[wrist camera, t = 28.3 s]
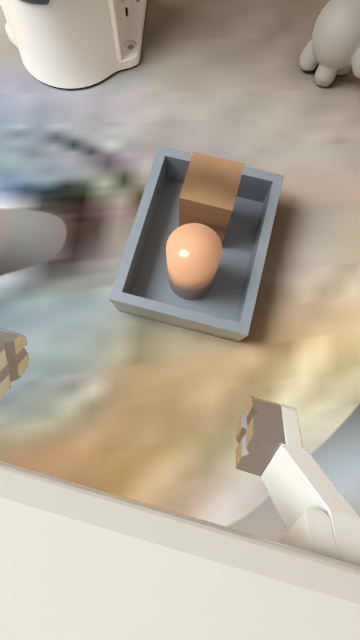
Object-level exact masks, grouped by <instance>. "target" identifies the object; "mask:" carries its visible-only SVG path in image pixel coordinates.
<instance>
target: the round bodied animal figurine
mask: <svg viewBox="0 0 360 640" xmlns="http://www.w3.org/2000/svg"><path fill="white" fill-rule="evenodd" d="M318 63H319V66H318V68H317V70H316V72H315V76H314V80H315V83H316V84H317V85H319V86H322V87H326V86H329V85H330V84H331V83H332V82H333V80H334V78H335V76H336V75H345V74H347V73H348V72H349V71H350V69H351V67H352V71H353V74H354V75H355V76H356V77H357V78H359V79H360V0H330V1H329V2H328V3H327V4H326V5H325V6H324V8H323V9H322V11H321V12H320V14H319V16H318V18H317V20H316V22H315V25H314V28H313V33H312V38H311V40H310V41H309V42H308V44H307V45H306V46H305V48H304V49H303V51H302V53H301V55H300V58H299V66H300V67H301V69H303V70H305V71H311V70H314V69H315V68H316V67H317V65H318Z"/></svg>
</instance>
